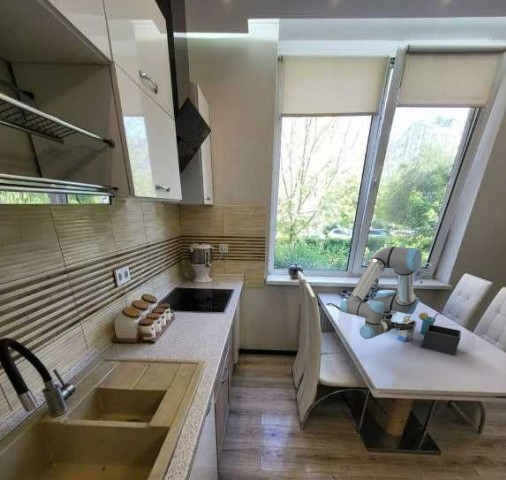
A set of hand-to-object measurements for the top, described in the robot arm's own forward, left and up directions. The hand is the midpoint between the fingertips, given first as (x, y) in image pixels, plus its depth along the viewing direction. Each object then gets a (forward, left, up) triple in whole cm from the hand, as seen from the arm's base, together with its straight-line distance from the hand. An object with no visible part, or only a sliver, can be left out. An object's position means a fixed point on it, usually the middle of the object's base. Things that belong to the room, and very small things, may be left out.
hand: (402, 319), depth 162 cm
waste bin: (+21, +8, -15) cm, 27 cm away
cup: (+13, +27, -15) cm, 34 cm away
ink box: (+3, +9, -15) cm, 18 cm away
